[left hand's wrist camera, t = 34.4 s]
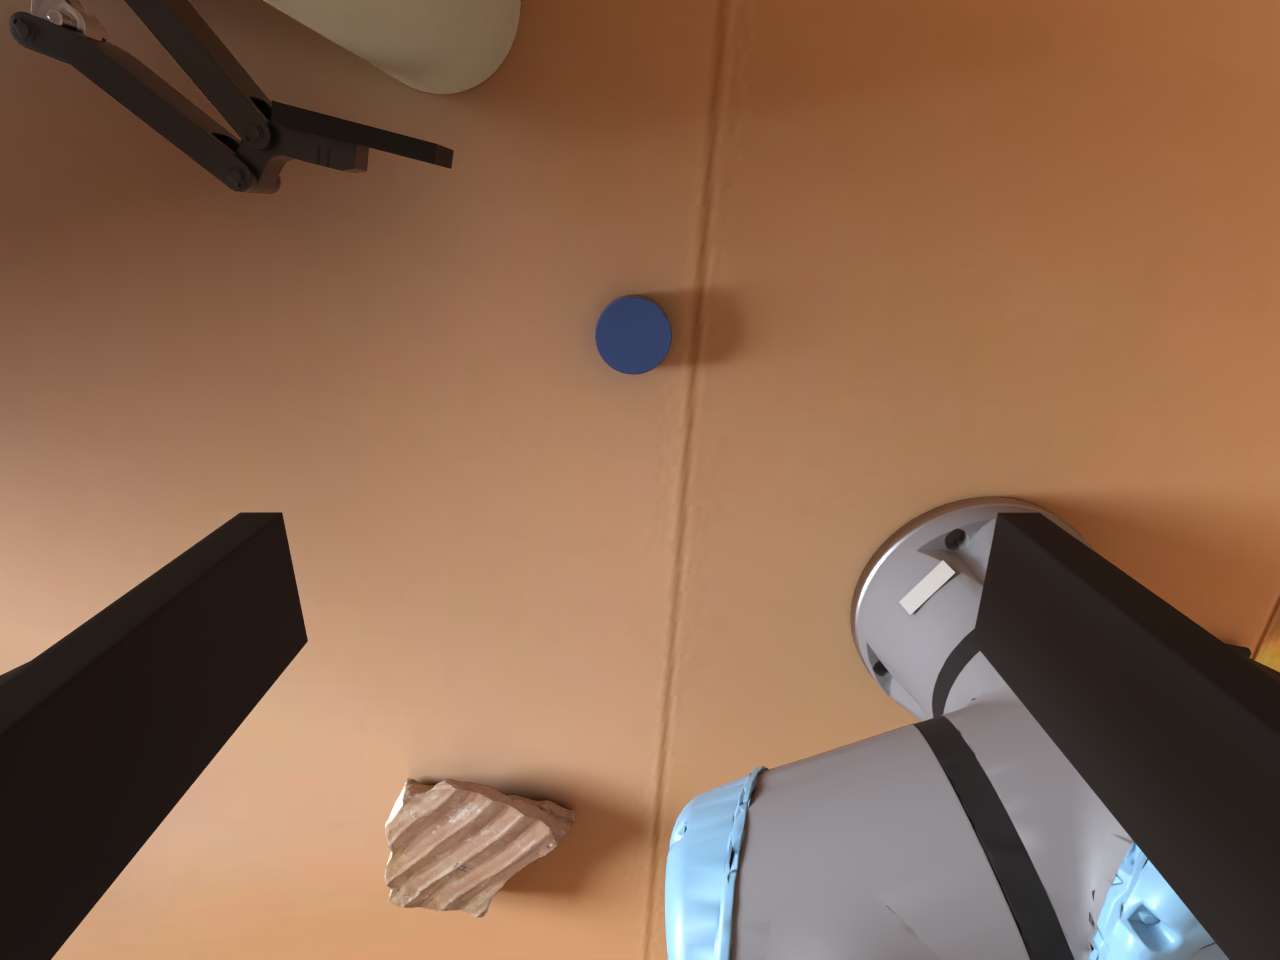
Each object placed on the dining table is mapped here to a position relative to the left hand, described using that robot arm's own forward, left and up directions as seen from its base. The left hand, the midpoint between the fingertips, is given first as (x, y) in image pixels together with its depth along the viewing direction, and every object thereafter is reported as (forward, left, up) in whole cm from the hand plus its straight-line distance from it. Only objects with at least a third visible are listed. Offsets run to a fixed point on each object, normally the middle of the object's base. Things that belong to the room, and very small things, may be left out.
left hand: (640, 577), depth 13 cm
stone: (-1, +38, -27) cm, 47 cm away
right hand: (+11, -12, -21) cm, 26 cm away
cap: (0, 0, -26) cm, 26 cm away
